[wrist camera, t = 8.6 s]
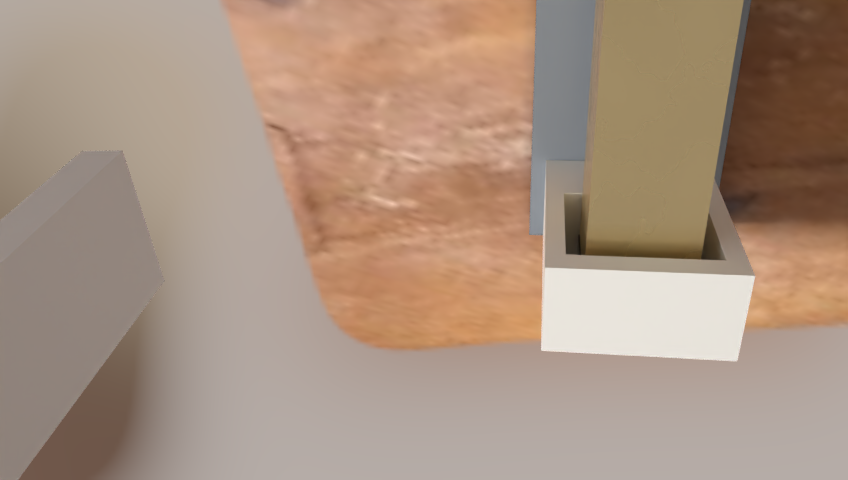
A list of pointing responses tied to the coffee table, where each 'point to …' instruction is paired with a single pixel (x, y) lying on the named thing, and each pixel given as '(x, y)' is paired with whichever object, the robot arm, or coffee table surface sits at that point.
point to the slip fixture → (609, 275)
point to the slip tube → (655, 124)
